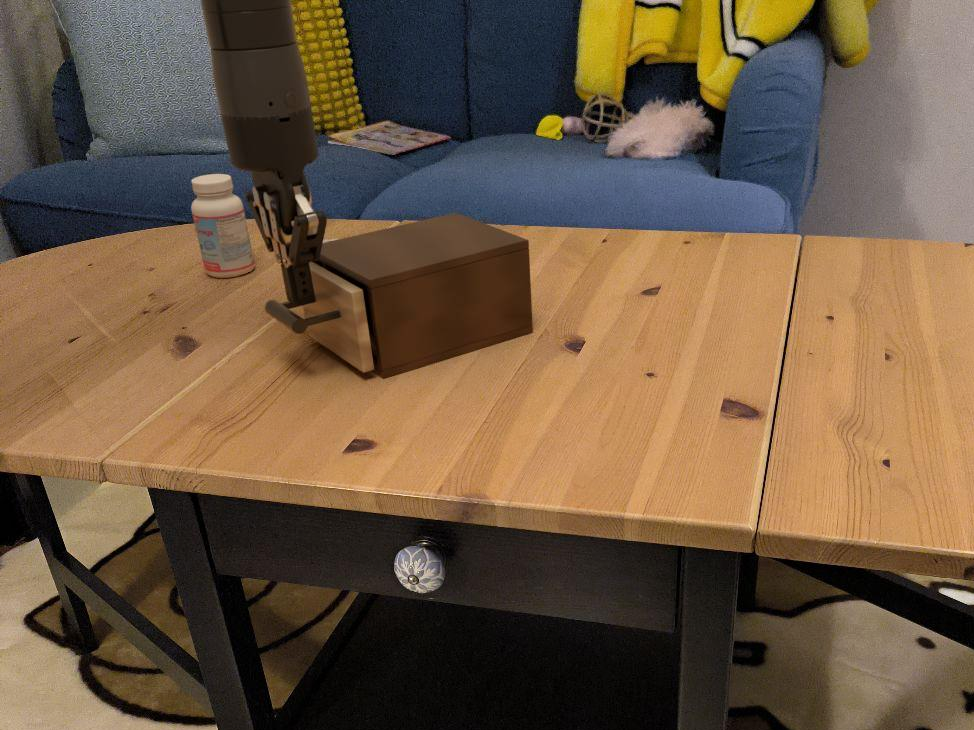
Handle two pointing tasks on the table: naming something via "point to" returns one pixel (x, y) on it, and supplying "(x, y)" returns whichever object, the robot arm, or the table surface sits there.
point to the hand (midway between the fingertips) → (302, 302)
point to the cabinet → (437, 288)
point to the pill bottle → (221, 227)
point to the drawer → (334, 316)
